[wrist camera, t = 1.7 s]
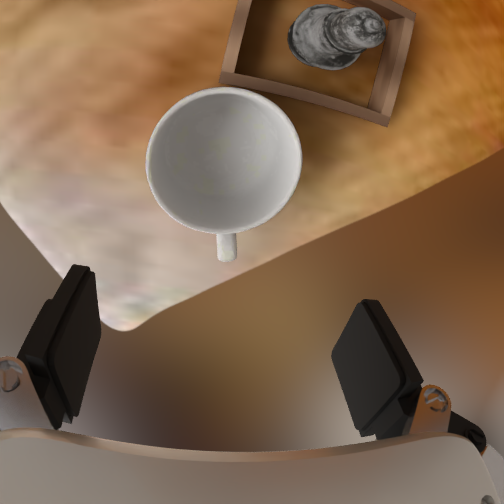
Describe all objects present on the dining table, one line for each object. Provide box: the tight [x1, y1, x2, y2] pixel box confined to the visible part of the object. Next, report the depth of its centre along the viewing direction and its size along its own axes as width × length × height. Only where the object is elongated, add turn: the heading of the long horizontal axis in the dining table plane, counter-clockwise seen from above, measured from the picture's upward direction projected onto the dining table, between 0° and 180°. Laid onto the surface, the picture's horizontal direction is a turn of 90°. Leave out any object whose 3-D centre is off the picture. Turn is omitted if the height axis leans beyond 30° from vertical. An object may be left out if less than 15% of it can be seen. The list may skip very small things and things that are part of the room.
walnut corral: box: [219, 0, 416, 127], centre depth 22 cm, size 12×15×3 cm
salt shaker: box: [288, 4, 386, 70], centre depth 18 cm, size 6×6×12 cm
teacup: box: [146, 87, 302, 262], centre depth 25 cm, size 14×11×8 cm
